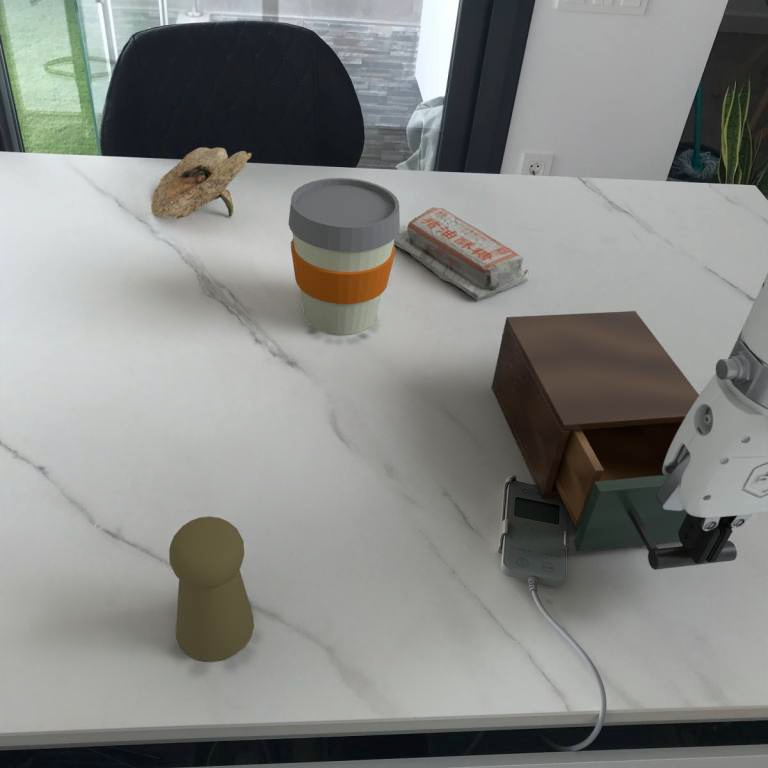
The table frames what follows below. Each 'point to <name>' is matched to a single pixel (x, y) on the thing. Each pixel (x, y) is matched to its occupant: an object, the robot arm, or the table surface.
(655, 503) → the drawer
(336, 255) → the reusable coffee cup
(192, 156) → the dried bracket fungus
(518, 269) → the packaged product
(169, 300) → the table surface
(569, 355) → the cabinet
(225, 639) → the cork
